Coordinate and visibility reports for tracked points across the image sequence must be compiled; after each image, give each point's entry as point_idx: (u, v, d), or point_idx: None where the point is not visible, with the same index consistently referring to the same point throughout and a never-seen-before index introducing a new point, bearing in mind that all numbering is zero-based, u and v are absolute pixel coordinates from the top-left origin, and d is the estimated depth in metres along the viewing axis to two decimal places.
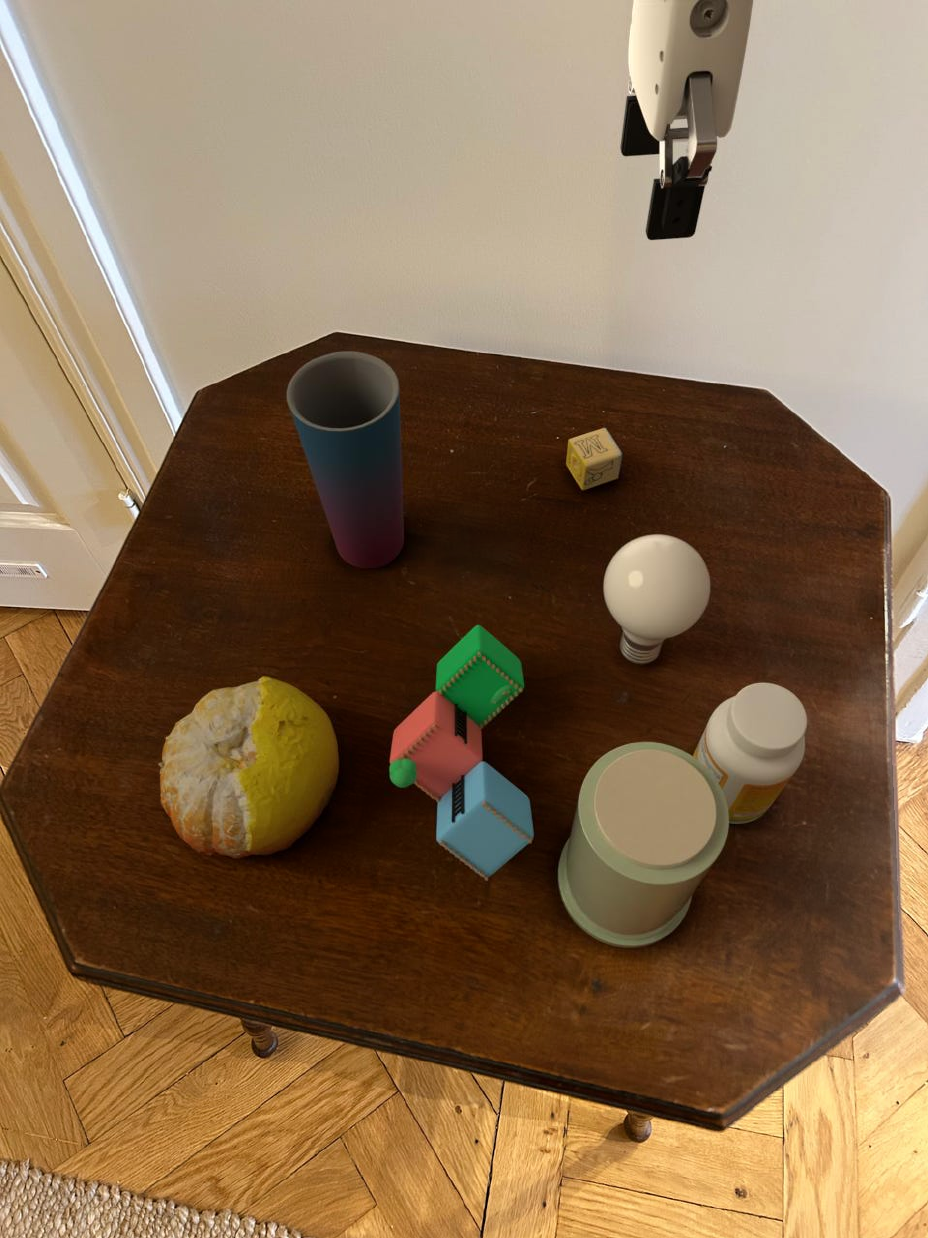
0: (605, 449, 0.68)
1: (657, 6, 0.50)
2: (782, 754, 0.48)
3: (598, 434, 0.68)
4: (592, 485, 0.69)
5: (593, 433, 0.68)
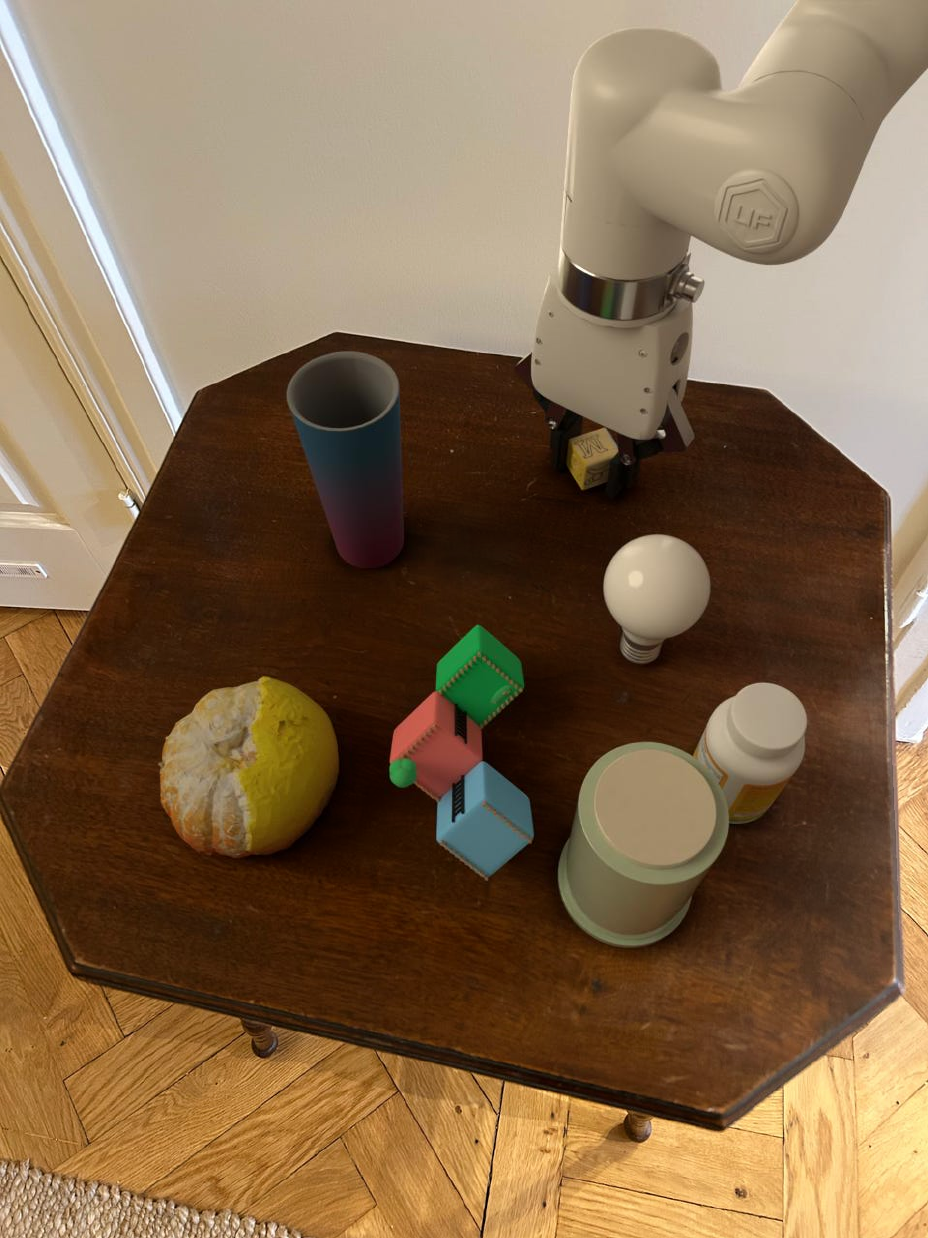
0: (605, 449, 0.68)
1: (628, 360, 0.57)
2: (782, 754, 0.48)
3: (598, 434, 0.68)
4: (592, 485, 0.69)
5: (593, 433, 0.68)
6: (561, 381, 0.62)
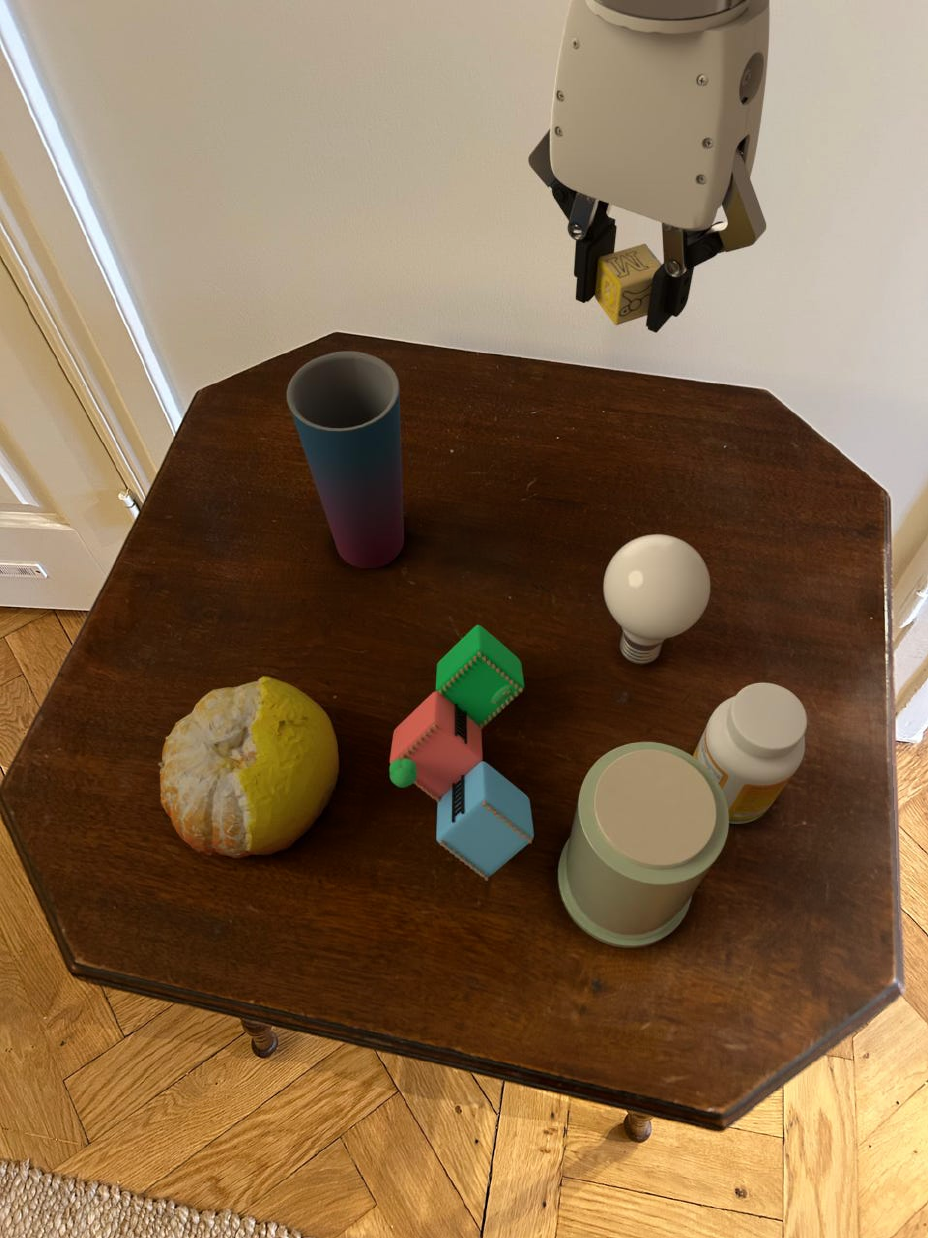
0: (645, 267, 0.53)
1: (681, 96, 0.42)
2: (782, 754, 0.48)
3: (636, 250, 0.54)
4: (628, 318, 0.54)
5: (629, 249, 0.54)
6: (589, 154, 0.47)
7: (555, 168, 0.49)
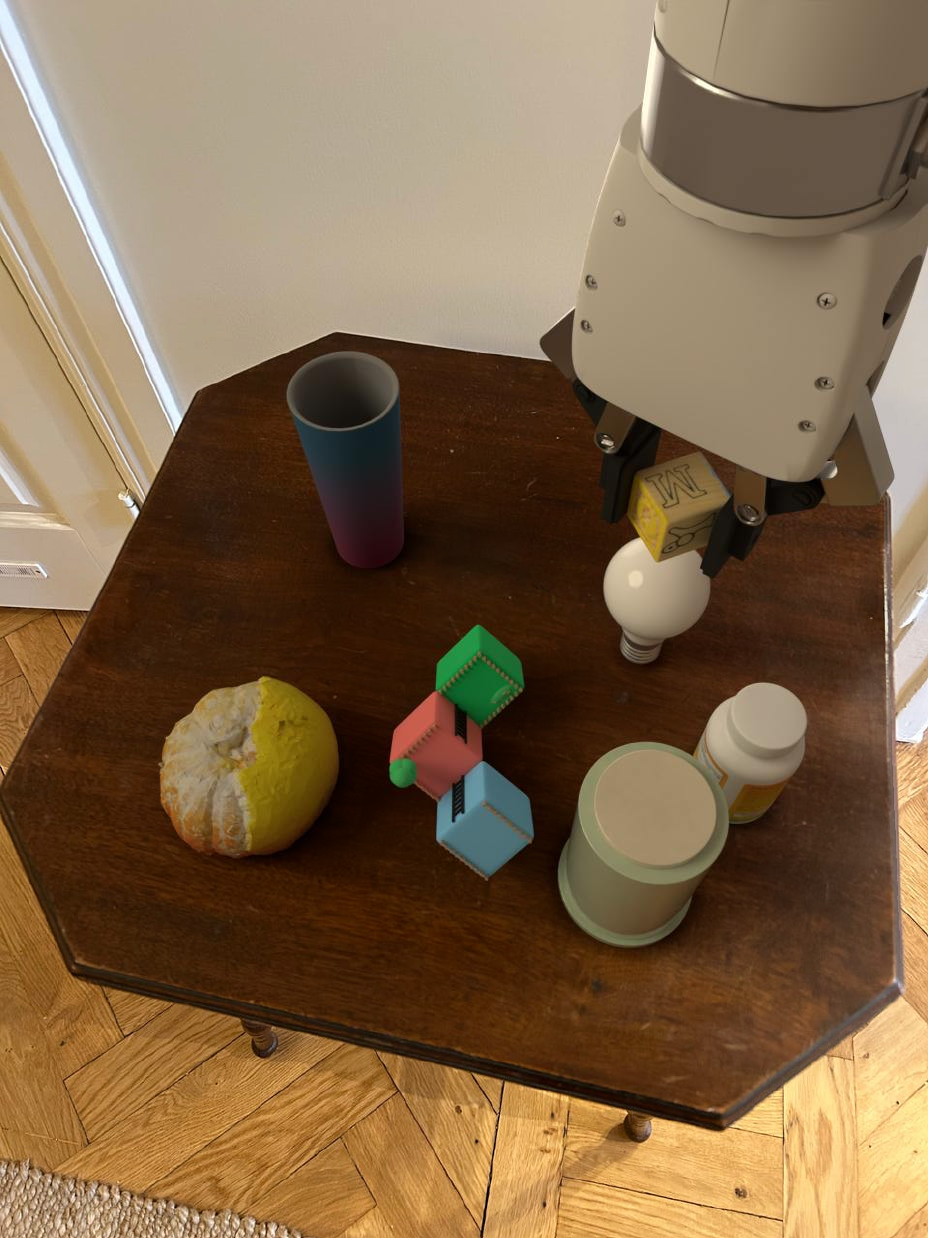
0: (702, 492, 0.37)
1: (788, 317, 0.26)
2: (782, 754, 0.48)
3: (688, 463, 0.38)
4: (675, 554, 0.39)
5: (679, 461, 0.38)
6: (632, 364, 0.31)
7: (579, 370, 0.33)
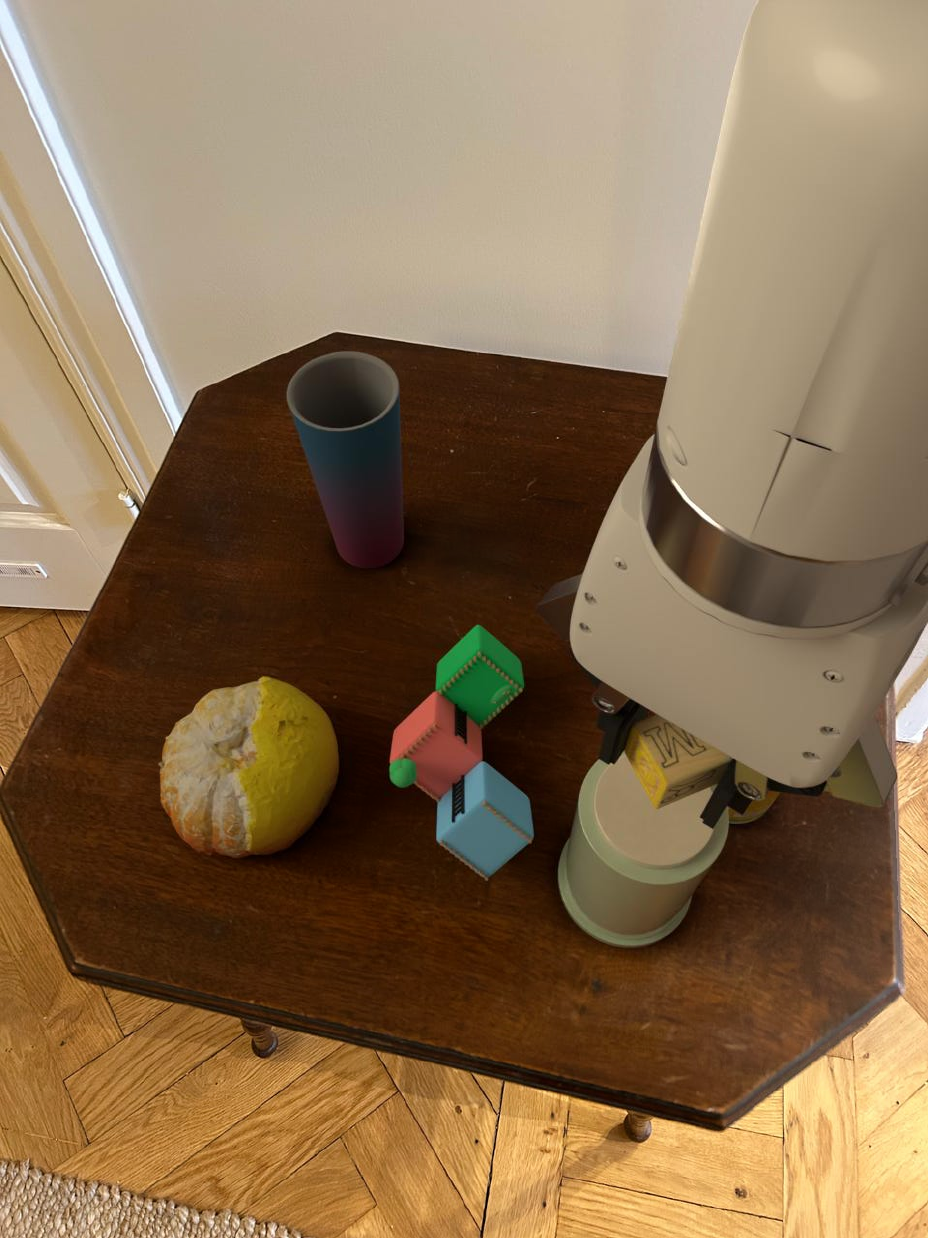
0: (701, 748, 0.37)
1: (793, 680, 0.26)
2: None
3: None
4: (674, 801, 0.38)
5: None
6: (633, 669, 0.31)
7: (577, 655, 0.33)
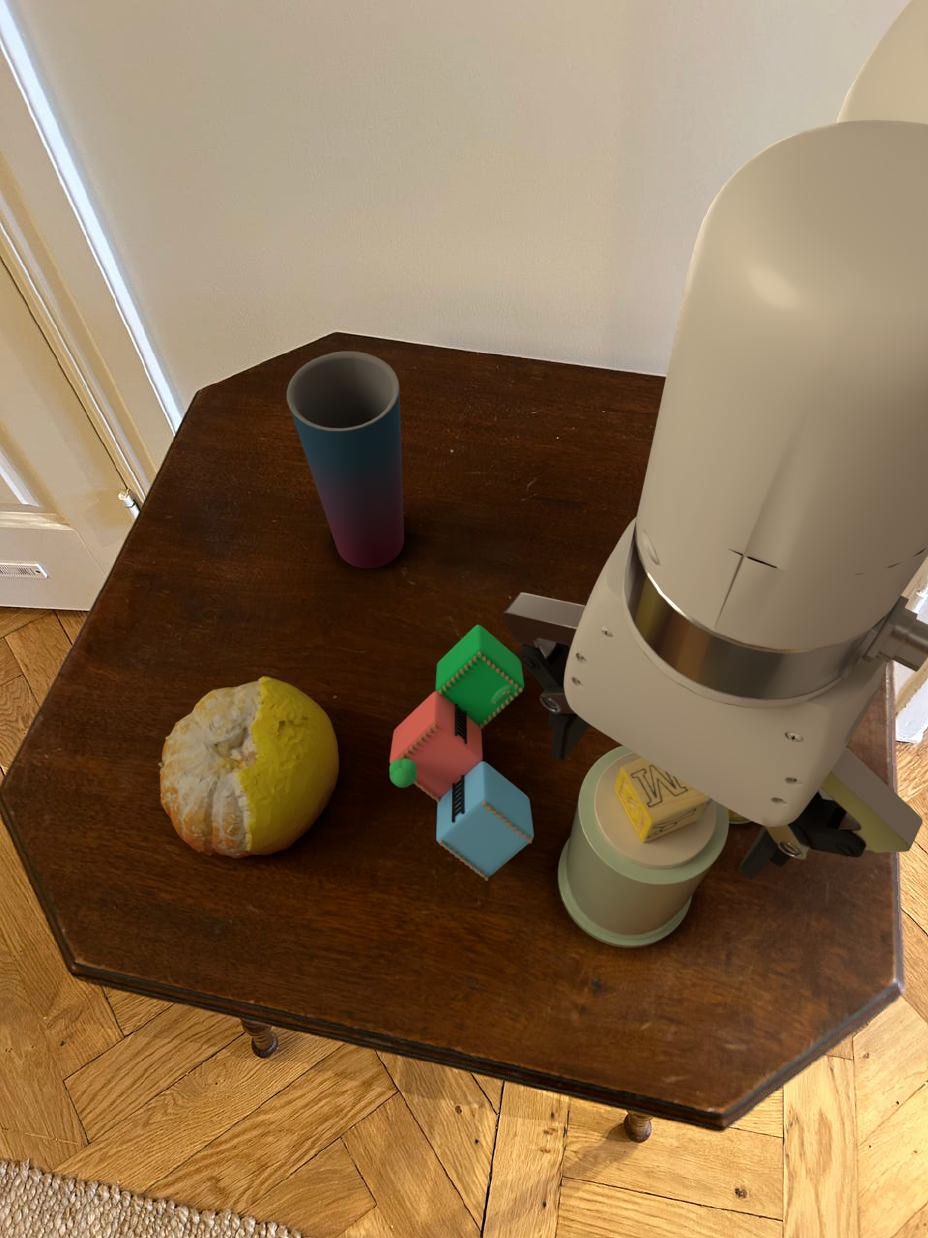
0: (683, 789, 0.40)
1: (760, 738, 0.29)
2: None
3: None
4: (659, 835, 0.42)
5: None
6: (620, 720, 0.34)
7: (571, 704, 0.36)
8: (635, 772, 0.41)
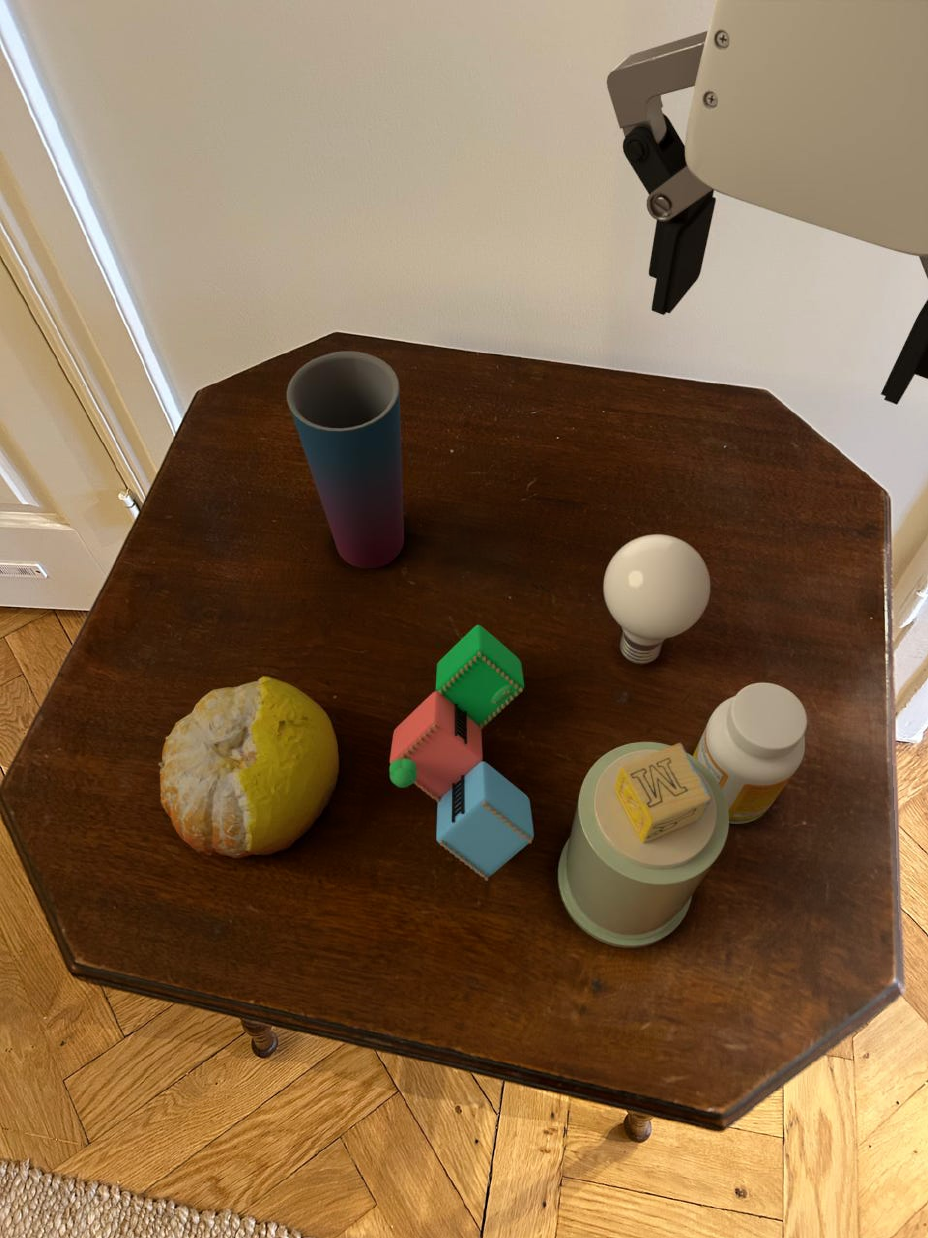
0: (683, 789, 0.40)
1: None
2: (782, 754, 0.48)
3: (670, 757, 0.41)
4: (659, 835, 0.42)
5: (662, 755, 0.41)
6: (763, 135, 0.29)
7: (695, 159, 0.31)
8: (635, 772, 0.41)
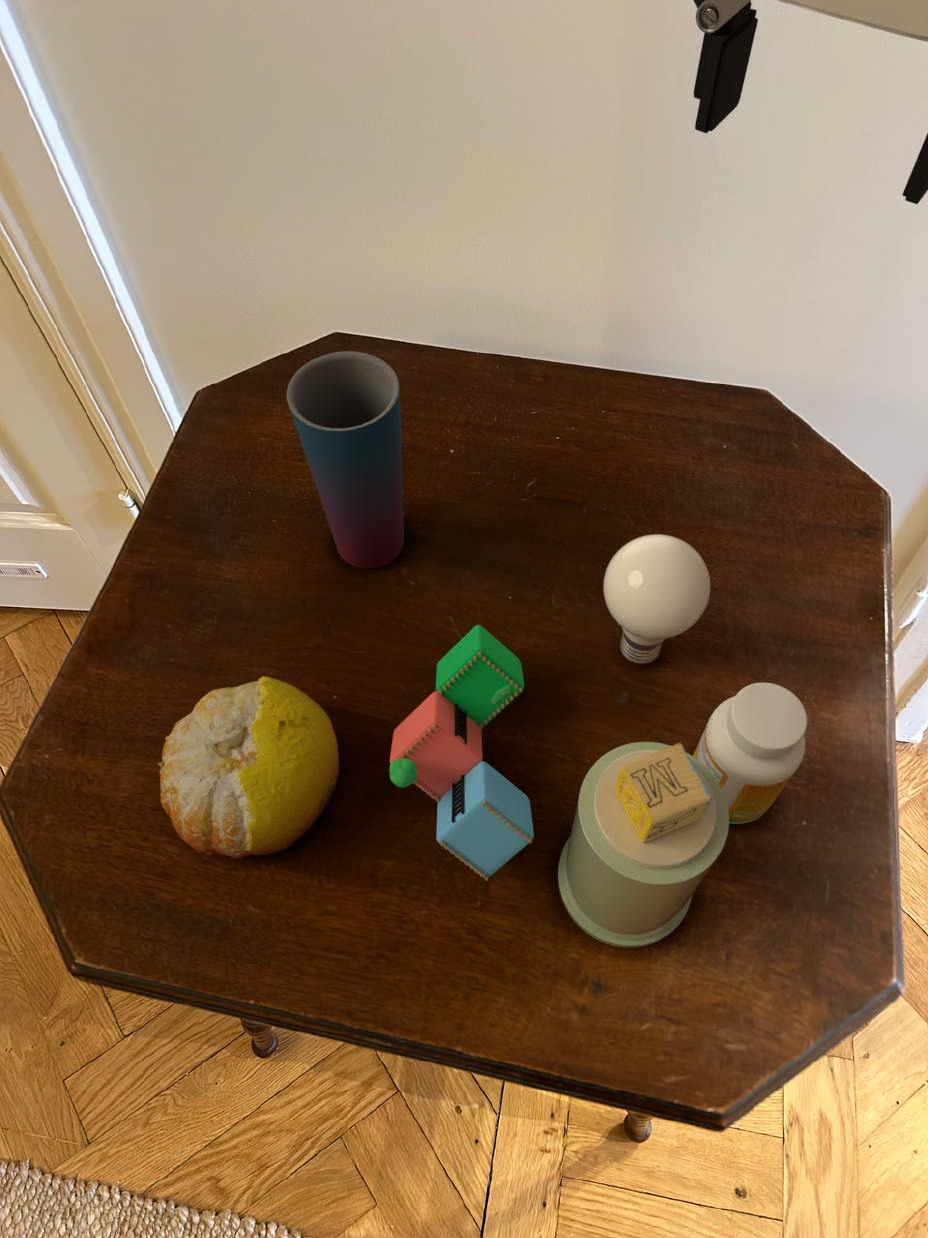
0: (683, 789, 0.40)
1: None
2: (782, 754, 0.48)
3: (670, 757, 0.41)
4: (659, 835, 0.42)
5: (662, 755, 0.41)
6: None
7: None
8: (635, 772, 0.41)
